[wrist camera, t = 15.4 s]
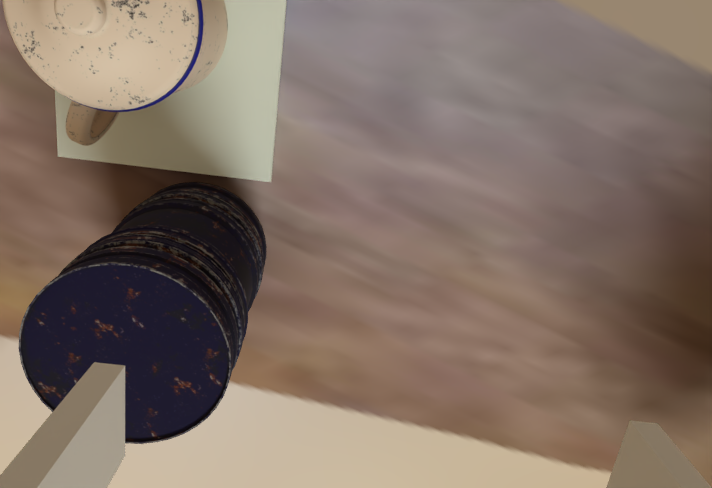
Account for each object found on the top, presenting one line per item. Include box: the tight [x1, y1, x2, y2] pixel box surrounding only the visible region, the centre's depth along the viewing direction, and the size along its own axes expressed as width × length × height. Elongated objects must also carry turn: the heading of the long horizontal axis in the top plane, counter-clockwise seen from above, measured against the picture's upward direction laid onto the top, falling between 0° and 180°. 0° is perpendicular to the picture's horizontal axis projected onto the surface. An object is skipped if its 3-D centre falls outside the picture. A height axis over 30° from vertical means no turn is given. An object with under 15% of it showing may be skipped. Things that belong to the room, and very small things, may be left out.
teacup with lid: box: [2, 0, 228, 146], centre depth 29 cm, size 12×9×12 cm
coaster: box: [55, 0, 287, 182], centre depth 35 cm, size 14×14×1 cm
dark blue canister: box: [19, 182, 266, 444], centre depth 33 cm, size 10×10×15 cm
